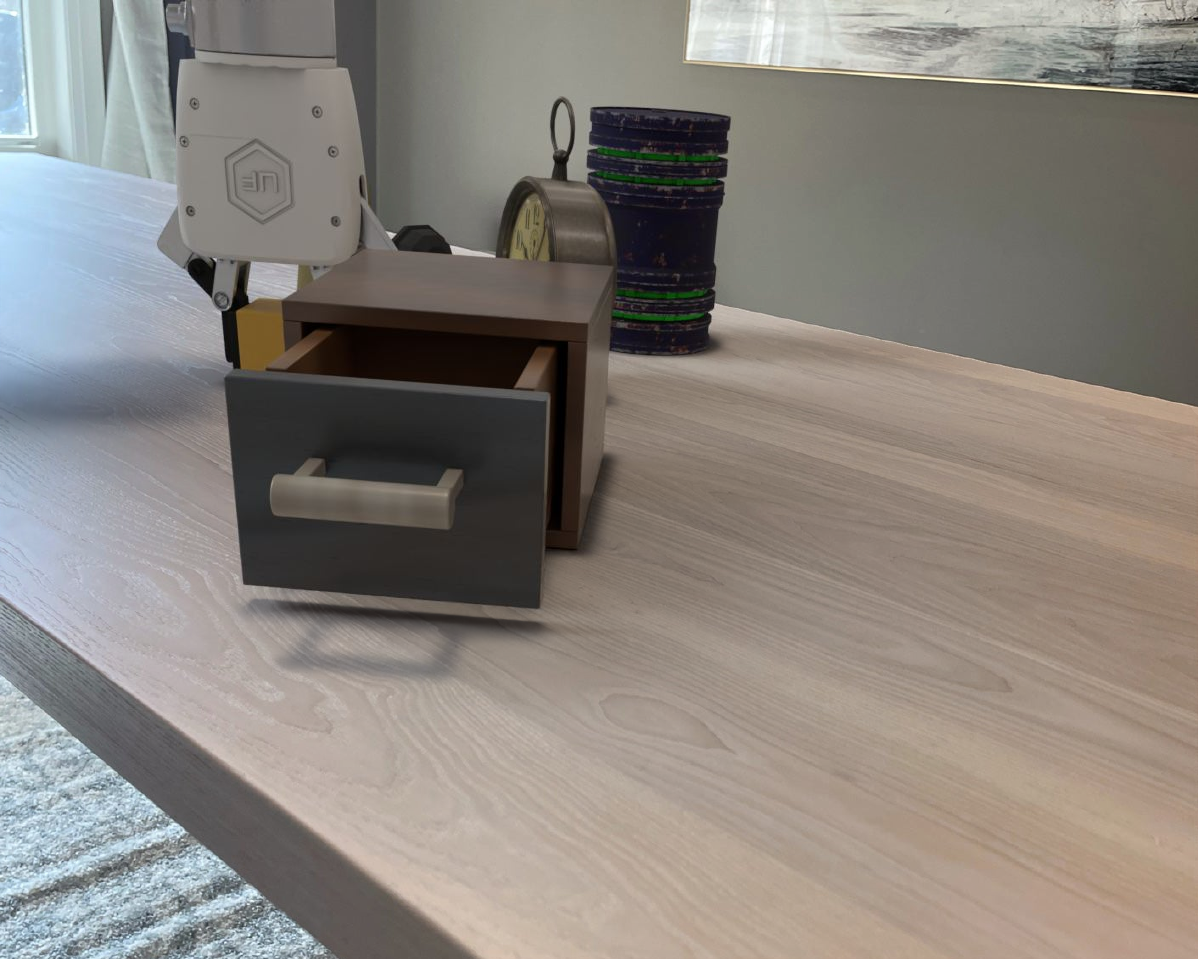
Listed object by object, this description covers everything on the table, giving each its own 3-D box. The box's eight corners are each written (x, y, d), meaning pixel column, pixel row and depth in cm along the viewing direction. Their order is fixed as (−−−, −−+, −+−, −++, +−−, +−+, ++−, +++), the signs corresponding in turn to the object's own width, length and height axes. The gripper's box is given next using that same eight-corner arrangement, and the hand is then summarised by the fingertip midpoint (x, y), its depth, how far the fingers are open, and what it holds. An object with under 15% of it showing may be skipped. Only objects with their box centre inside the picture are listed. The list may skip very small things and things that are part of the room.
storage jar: (716, 358, 91) (739, 122, 84) (578, 350, 91) (588, 112, 83) (705, 330, 100) (725, 112, 92) (578, 322, 100) (588, 104, 92)
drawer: (525, 656, 45) (531, 432, 41) (204, 629, 45) (179, 405, 41) (574, 498, 60) (582, 324, 56) (333, 479, 61) (324, 305, 57)
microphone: (304, 301, 116) (424, 313, 102) (278, 236, 112) (398, 239, 98) (353, 278, 118) (477, 286, 104) (329, 213, 115) (453, 212, 101)
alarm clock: (488, 367, 86) (491, 88, 77) (565, 365, 87) (576, 92, 79) (540, 409, 77) (550, 101, 69) (624, 406, 79) (644, 105, 70)
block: (242, 387, 78) (235, 310, 75) (264, 371, 81) (258, 297, 79) (314, 393, 77) (309, 316, 75) (333, 376, 81) (329, 302, 79)
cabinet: (577, 550, 57) (588, 322, 52) (296, 527, 57) (280, 300, 52) (603, 456, 69) (614, 266, 64) (372, 438, 70) (365, 248, 65)
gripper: (83, 24, 67) (130, 383, 76) (404, 45, 66) (411, 404, 76) (139, 25, 73) (175, 356, 83) (432, 44, 73) (435, 375, 82)
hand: (288, 375), depth 79 cm, fingers closed on block, 4 cm apart
